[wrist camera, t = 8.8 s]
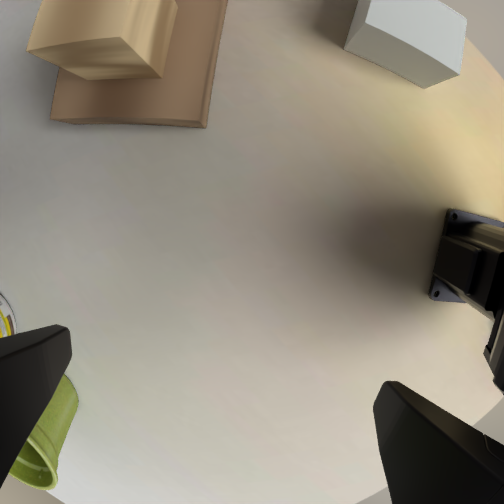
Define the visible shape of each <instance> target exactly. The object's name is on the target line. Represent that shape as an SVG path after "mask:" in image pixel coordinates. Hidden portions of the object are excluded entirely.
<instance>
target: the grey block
mask: <svg viewBox="0 0 504 504" xmlns="http://www.w3.org/2000/svg"><path fill="white" fill-rule="evenodd" d="M466 23H467V19H466V18H465V17H463V16H462V15H460V14H459V13H457V12H456V11H454V10H453V9H451V8H450V7H448V6H447V5H445V4H443V3H442V2H440V1H439V0H358V4H357V7H356V10H355V13H354V17H353V20H352V23H351V26H350V30H349V33H348V36H347V39H346V42H345V46H344V49H343V50H346V51H348V52H350V53H353V54H355V55H357V56H360V57H362V58H364V59H366V60H369V61H371V62H373V63H375V64H377V65H379V66H381V67H383V68H385V69H387V70H389V71H391V72H393V73H395V74H397V75H399V76H401V77H403V78H405V79H407V80H409V81H411V82H412V83H414V84H416V85H418V86H420V87H421V88H423V89H425V88H428V87H430V86H433V85H435V84H437V83H440V82H442V81H445V80H447V79H450V78H452V77H455V76H458V75H460V70H461V63H462V56H463V49H464V42H465V32H466Z"/></svg>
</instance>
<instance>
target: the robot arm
mask: <svg viewBox="0 0 504 504" xmlns="http://www.w3.org/2000/svg"><path fill="white" fill-rule="evenodd" d="M453 213H454V218H453V219H452V215H453ZM503 227H504V222H500V221H497V220H493V219H490V218H486V217H483V216H479V215H475V214H471V213H468V212H464V211H460V210H456V209H449V210H448V211H447V214H446V219H445V224H444V229H443V234H442V238H441V241H440V246H439V250H438V254H437V259H436V263H435V267H434V271H433V272H434V274H433V277H432V281H431V285H430V289H429V293H428V295H429V297H430V298H431V299H432V300H434V301H446V302H459V303H468V304H469V305H471V306H472V307H473V308H475V309H476V310H478V311H479V312H481V313H482V314H483V315H485V316H486V317H487V318H489V319H490V320H492V321H493V322H494V325H493V328H492V332H491V335H490V338H489V342H488V345H486V346H485V350H484V353H483V354H484V356H485V358H486V360H487V362H488V364H489V366H490V368H491V370H492V373H493V375H494V378H493V382H494V384H495V386H496V387H497V388H498V389H499V390H500V391H501V392H502V393H503V395H504V229H503ZM435 291H437V293H436V294H435V295H434V293H435ZM71 357H72V348H71V338H70V331H69V329H68V328H67V327H64V326H61V325H57V324H56V325H51V326H47V327H43V328H39V329H35V330H31V331H27V332H23V333H19V334H14V335H10V336H6V337H2V338H0V488H1V486H2V484H3V482H4V480H5V479H6V477H7V475H8V473H9V471H10V469H11V467H12V466H13V464H14V462H15V460H16V458H17V456H18V455H19V453H20V451H21V449H22V448H23V446H24V444H25V442H26V441H27V439H28V437H29V435H30V434H31V432H32V430H33V429H34V427H35V425H36V424H37V422H38V420H39V419H40V417H41V415H42V414H43V412H44V410H45V409H46V407H47V405H48V404H49V402H50V400H51V399H52V397H53V395H54V393H55V391H56V389H57V387H58V385H59V383H60V380H61V378H62V376H63V374H64V372H65V370H66V368H67V366H68V364H69V362H70V360H71ZM373 413H374V419H375V425H376V432H377V439H378V446H379V452H380V456H381V460H382V464H383V468H384V472H385V476H386V480H387V484H388V488H389V492H390V496H391V500H392V504H504V445H503V444H501V443H499V442H497V441H495V440H494V439H492V438H490V437H489V436H487V435H483V433H482V432H480V431H478V430H476V429H475V428H473V427H472V426H470V425H468V424H467V423H465V422H463V421H462V420H460V419H458V418H457V417H455V416H453V415H452V414H450V413H448V412H447V411H445V410H443V409H442V408H440V407H439V406H437V405H435V404H434V403H432V402H430V401H429V400H427V399H426V398H424V397H422V396H421V395H419V394H418V393H416V392H414V391H413V390H411V389H410V388H408V387H406V386H405V385H403V384H402V383H400V382H398V381H386V382H384V383H383V385H382V387H381V389H380V391H379V393H378V395H377V398H376V400H375V402H374V405H373Z"/></svg>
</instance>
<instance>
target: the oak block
mask: <svg viewBox="0 0 504 504" xmlns="http://www.w3.org/2000/svg"><path fill="white" fill-rule="evenodd" d="M177 9H178V6H177V4H176V2H175V0H42V3H41V5H40V8H39V11H38V14H37V16H36V19H35V22H34V25H33V28H32V32H31V35H30V38H29V42H28V45H27V49H26V52H29V53H31V54H33V55H35V56H38V57H40V58H42V59H44V60H46V61H48V62H51V63H53V64H55V65H57V66H59V67H61V68H63V69H65V70H67V71H70V72H72V73H74V74H76V75H78V76H80V77H82V78H84V79H86V80H102V79H127V78H163V73H164V67H165V62H166V57H167V53H168V48H169V43H170V39H171V34H172V30H173V26H174V21H175V17H176V13H177Z"/></svg>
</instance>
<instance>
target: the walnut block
mask: <svg viewBox="0 0 504 504" xmlns="http://www.w3.org/2000/svg"><path fill="white" fill-rule="evenodd" d="M175 2H176V4H177V6H178V9H177V13H176V17H175V21H174V26H173V30H172V34H171V39H170V43H169V48H168V53H167V57H166V62H165V67H164V73H163V78H127V79H102V80H86V79H84V78H82V77H80V76H78V75H76V74H74V73H72V72H70V71H67V70H65V69H63V68H61V67H60V68H59V72H58V77H57V81H56V86H55V91H54V97H53V102H52V108H51V115H50V119H51V120H56V121H61V122H66V123H71V124H145V125H167V126H184V127H197V128H206V126H207V119H208V112H209V105H210V98H211V92H212V86H213V79H214V73H215V67H216V61H217V56H218V50H219V44H220V39H221V33H222V28H223V23H224V18H225V13H226V8H227V3H228V0H175Z"/></svg>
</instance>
